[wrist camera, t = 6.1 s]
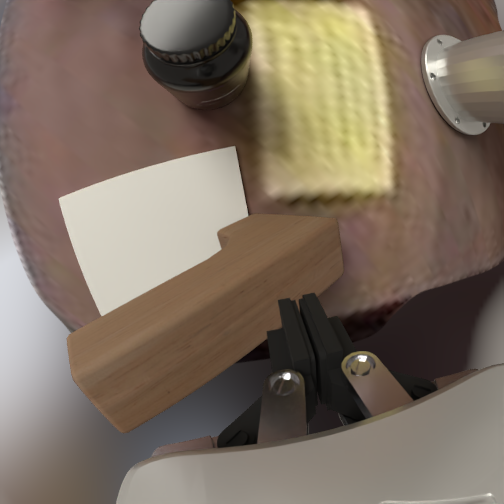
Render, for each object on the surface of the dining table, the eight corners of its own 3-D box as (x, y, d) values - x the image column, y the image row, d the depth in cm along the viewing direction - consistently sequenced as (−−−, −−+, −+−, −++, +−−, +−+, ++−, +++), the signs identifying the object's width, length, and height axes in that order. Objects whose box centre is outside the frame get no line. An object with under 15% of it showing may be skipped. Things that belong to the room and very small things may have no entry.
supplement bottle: (223, 123, 22) (206, 98, 10) (158, 93, 20) (94, 56, 9) (263, 62, 20) (281, -4, 8) (197, 34, 18) (167, -37, 7)
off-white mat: (235, 146, 22) (235, 145, 22) (268, 319, 29) (268, 322, 28) (61, 197, 23) (58, 198, 23) (115, 338, 30) (114, 340, 29)
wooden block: (266, 256, 26) (92, 357, 17) (254, 211, 25) (62, 308, 15) (346, 274, 19) (123, 438, 10) (339, 216, 18) (68, 378, 8)
